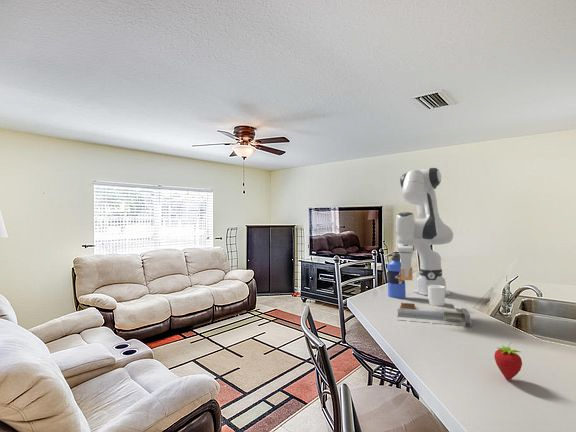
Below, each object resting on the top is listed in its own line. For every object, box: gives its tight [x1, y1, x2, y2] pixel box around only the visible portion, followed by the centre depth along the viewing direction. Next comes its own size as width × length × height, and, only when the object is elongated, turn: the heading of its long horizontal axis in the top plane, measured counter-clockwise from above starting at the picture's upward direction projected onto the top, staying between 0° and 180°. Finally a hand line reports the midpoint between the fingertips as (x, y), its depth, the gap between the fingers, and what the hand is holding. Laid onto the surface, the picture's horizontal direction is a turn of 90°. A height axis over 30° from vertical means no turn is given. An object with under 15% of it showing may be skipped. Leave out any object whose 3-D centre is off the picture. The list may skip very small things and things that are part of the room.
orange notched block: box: [401, 266, 414, 281], centre depth 148 cm, size 5×5×6 cm
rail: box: [396, 307, 473, 328], centre depth 134 cm, size 10×28×4 cm, turn 68°
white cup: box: [427, 285, 446, 307], centre depth 153 cm, size 8×8×10 cm
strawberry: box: [493, 342, 523, 381], centre depth 83 cm, size 6×8×10 cm
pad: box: [399, 302, 417, 310], centre depth 148 cm, size 7×7×4 cm
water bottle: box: [386, 252, 407, 299], centre depth 171 cm, size 9×9×25 cm
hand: (406, 275), depth 148 cm, fingers closed on orange notched block, 5 cm apart
